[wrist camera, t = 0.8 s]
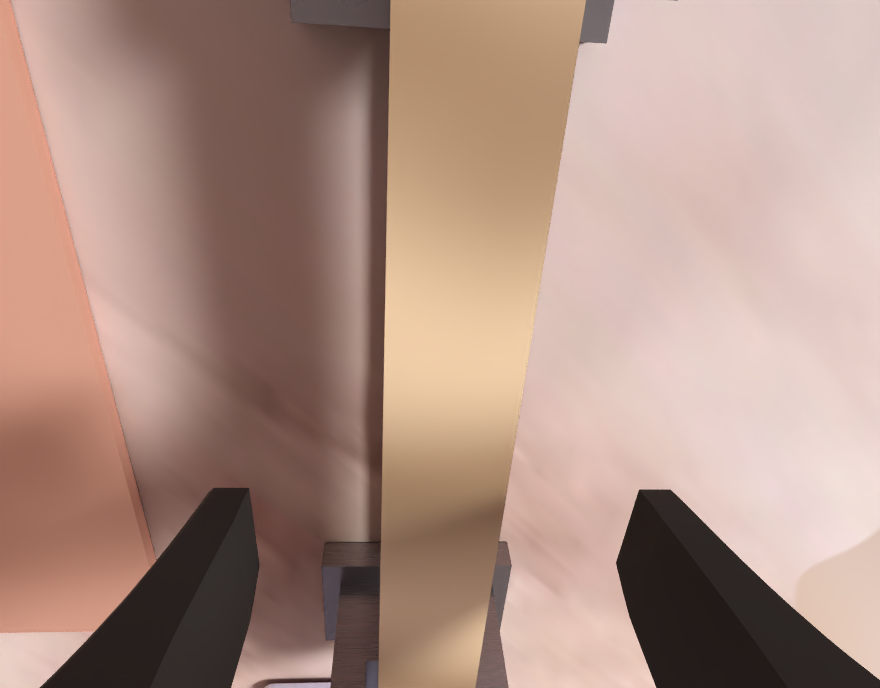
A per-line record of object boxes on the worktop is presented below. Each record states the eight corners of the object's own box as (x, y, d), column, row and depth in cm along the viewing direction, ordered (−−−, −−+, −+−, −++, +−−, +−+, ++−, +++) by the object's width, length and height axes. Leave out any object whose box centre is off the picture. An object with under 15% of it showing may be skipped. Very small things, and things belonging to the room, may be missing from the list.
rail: (451, 716, 20) (457, 800, 18) (378, 718, 20) (376, 803, 18) (583, -292, 8) (649, -394, 6) (398, -313, 8) (397, -425, 6)
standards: (494, 613, 23) (519, 775, 19) (328, 615, 23) (309, 783, 18) (633, -200, 11) (810, -340, 6) (286, -235, 11) (194, -416, 6)
